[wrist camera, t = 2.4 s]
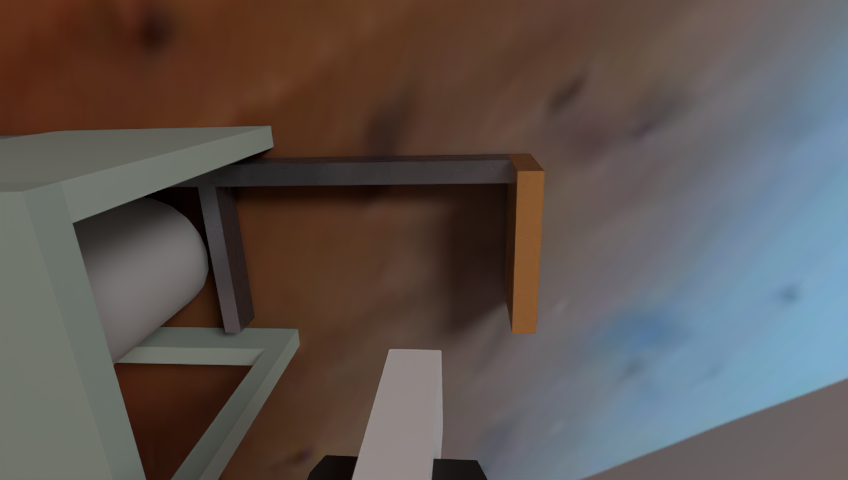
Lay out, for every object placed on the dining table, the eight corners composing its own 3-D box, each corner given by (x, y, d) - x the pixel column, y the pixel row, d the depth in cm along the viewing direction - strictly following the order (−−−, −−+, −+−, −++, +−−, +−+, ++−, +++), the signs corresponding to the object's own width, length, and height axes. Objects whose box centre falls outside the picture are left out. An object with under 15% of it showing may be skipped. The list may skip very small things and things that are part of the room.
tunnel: (118, 341, 33) (-180, 571, 18) (60, 130, 28) (-415, 196, 13) (299, 344, 32) (148, 592, 17) (270, 126, 27) (21, 191, 12)
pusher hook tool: (96, 315, 32) (33, 356, 27) (52, 162, 29) (-29, 179, 24) (522, 320, 30) (533, 366, 25) (529, 153, 26) (544, 171, 21)
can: (190, 321, 32) (41, 456, 21) (88, 265, 31) (-126, 373, 20) (233, 233, 30) (91, 331, 18) (123, 170, 29) (-97, 231, 17)
